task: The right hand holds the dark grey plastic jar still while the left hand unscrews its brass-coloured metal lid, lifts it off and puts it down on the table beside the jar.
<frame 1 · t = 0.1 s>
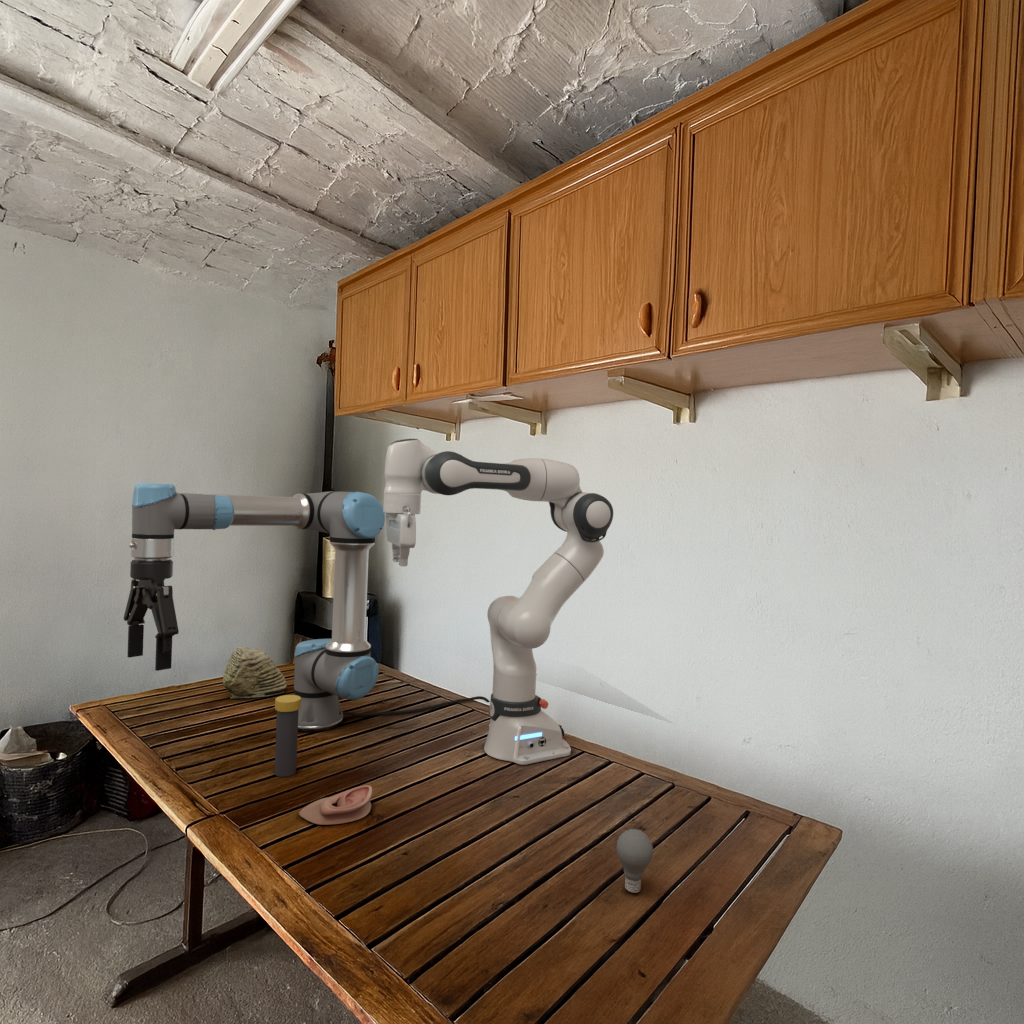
left hand: (148, 662, 129), 28 cm above the table, tool pointing down, fingers open, 13 cm apart
right hand: (399, 563, 152), 48 cm above the table, tool pointing down, fingers open, 8 cm apart
jar: (285, 772, 145), on the table
lid: (288, 700, 144), point 17 cm above the table, screwed on, not yet turned
fossil: (254, 694, 198), on the table
light bulb: (632, 891, 106), on the table
anatomical model: (335, 812, 127), on the table
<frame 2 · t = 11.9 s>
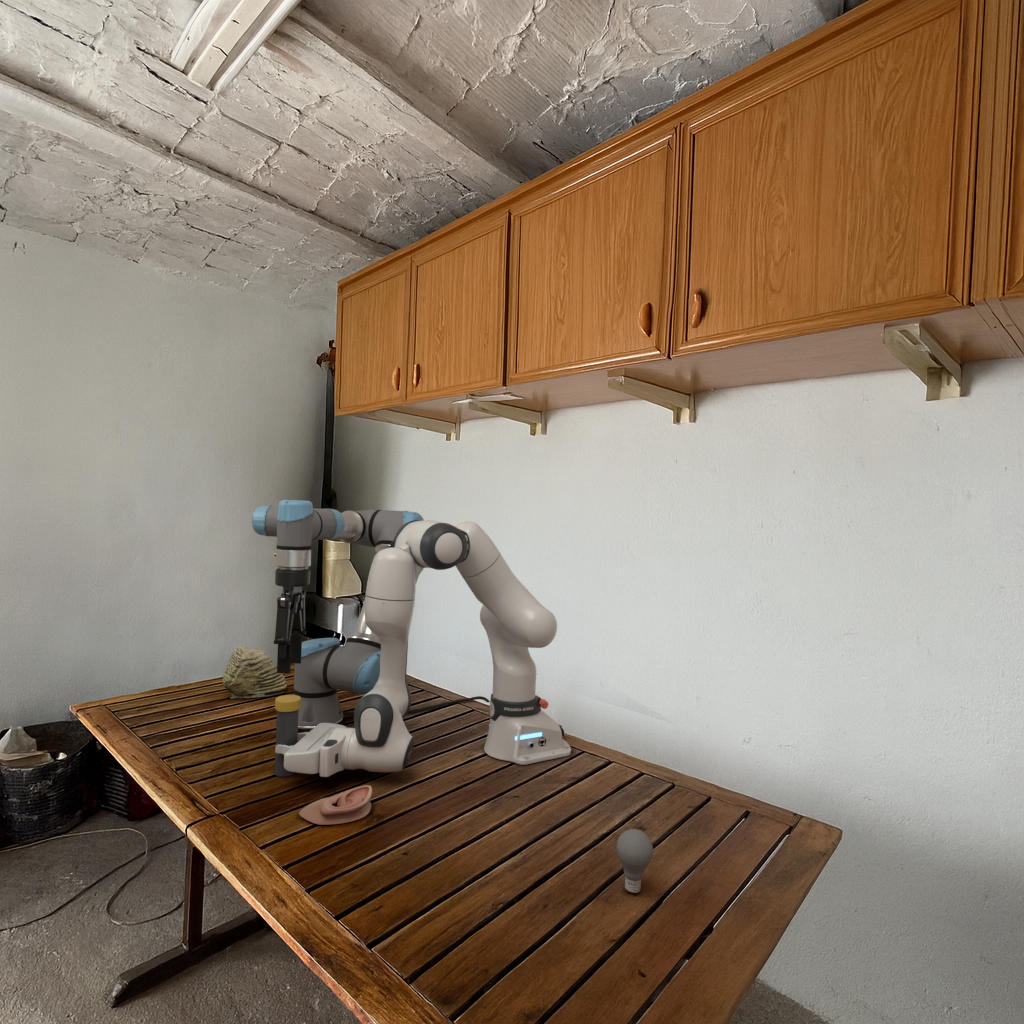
left hand: (289, 667, 144), 24 cm above the table, tool pointing down, fingers open, 8 cm apart
right hand: (282, 742, 145), 7 cm above the table, tool horizontal, fingers closed on jar, 5 cm apart
jar: (285, 772, 145), on the table, touching right hand
everything else where it was.
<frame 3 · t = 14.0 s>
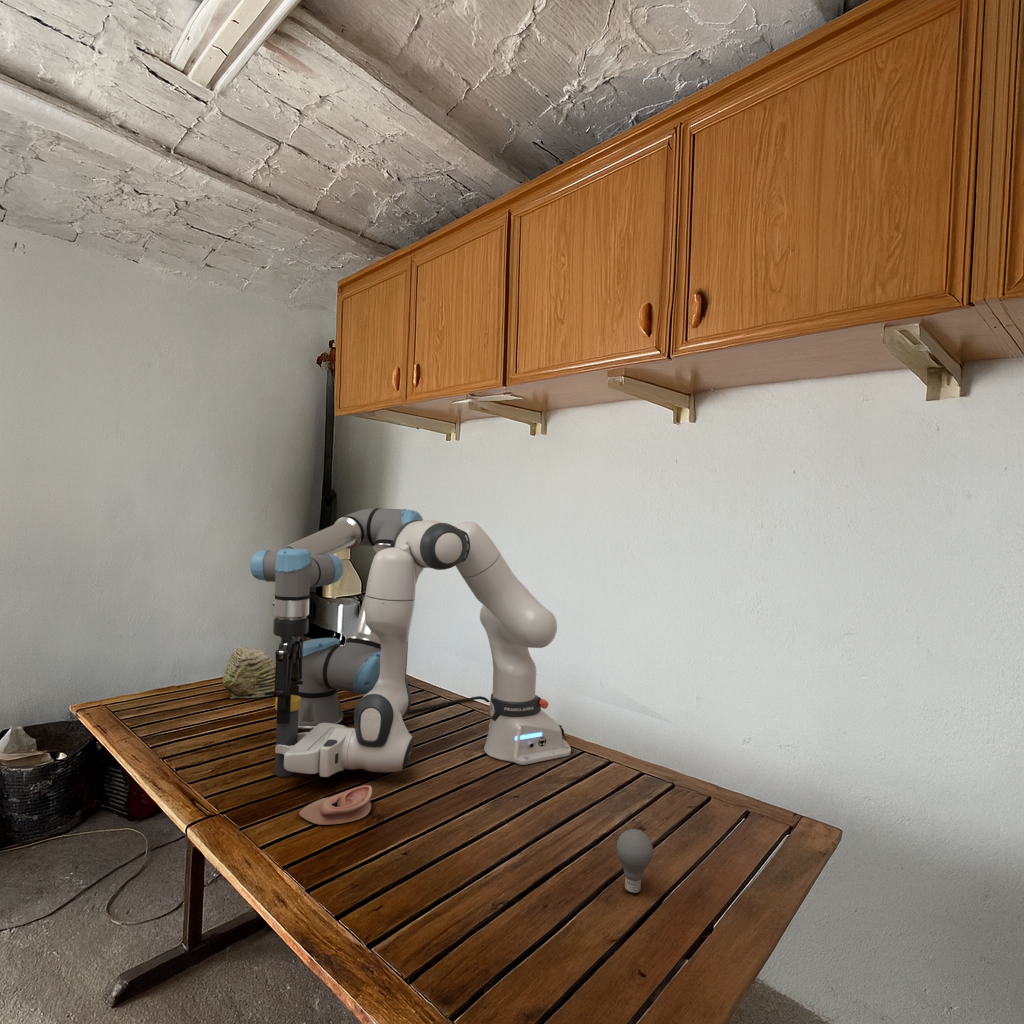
left hand: (287, 718, 144), 12 cm above the table, tool pointing down, fingers closed on lid, 5 cm apart
right hand: (282, 742, 145), 7 cm above the table, tool horizontal, fingers closed on jar, 5 cm apart
jar: (285, 772, 145), on the table, touching right hand
lid: (288, 700, 144), point 17 cm above the table, screwed on, not yet turned, touching left hand
everything else where it was.
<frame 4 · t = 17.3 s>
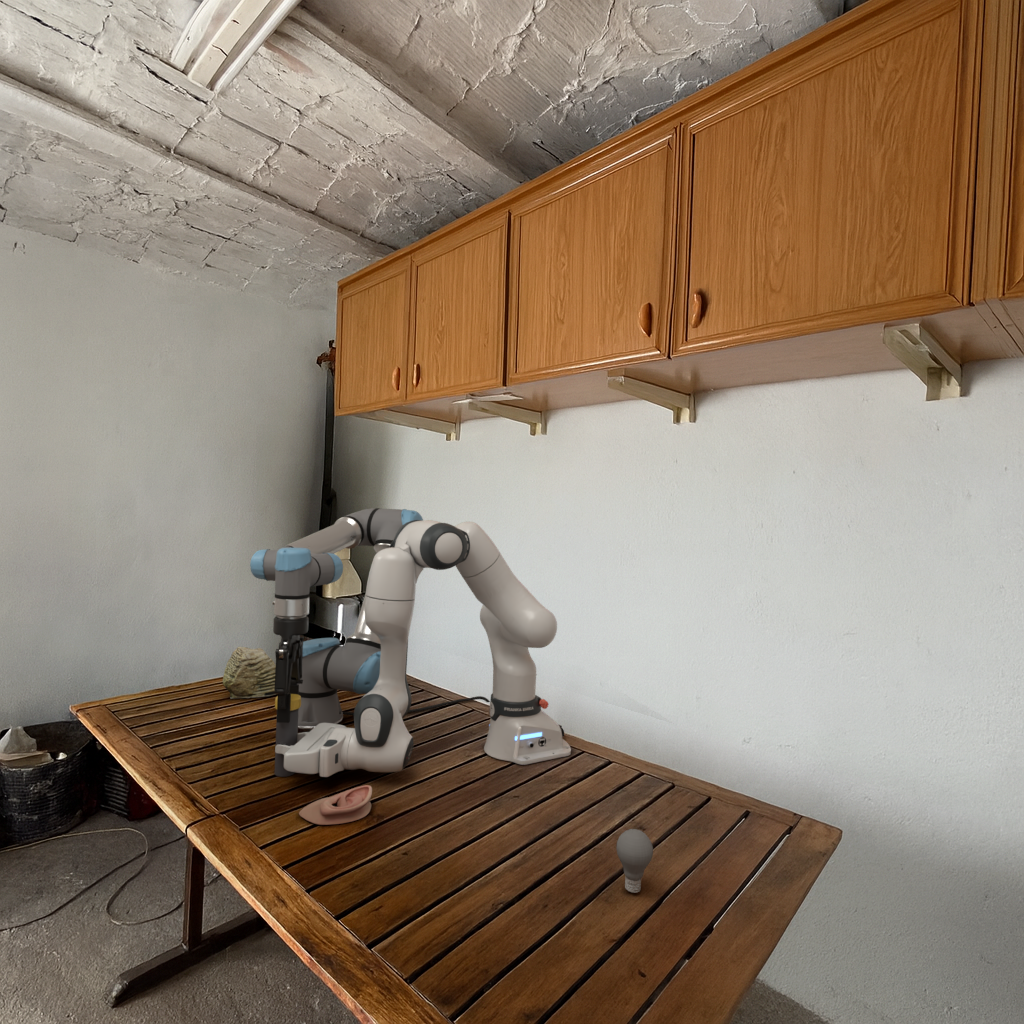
left hand: (287, 717, 144), 13 cm above the table, tool pointing down, fingers closed on lid, 5 cm apart
right hand: (282, 742, 145), 7 cm above the table, tool horizontal, fingers closed on jar, 5 cm apart
jar: (285, 772, 145), on the table, touching right hand
lid: (288, 698, 144), point 17 cm above the table, turned 88° so far, risen 0.2 cm, still on its thread, touching left hand
everything else where it was.
when the left hand's fingers open (0 cm above the table, at t = 24.5 s): lid drops 2 cm, point 2 cm above the table.
when the right hand's fingers open (7 cm above the table, at t = 25.1 s): jar stays where it is, on the table.
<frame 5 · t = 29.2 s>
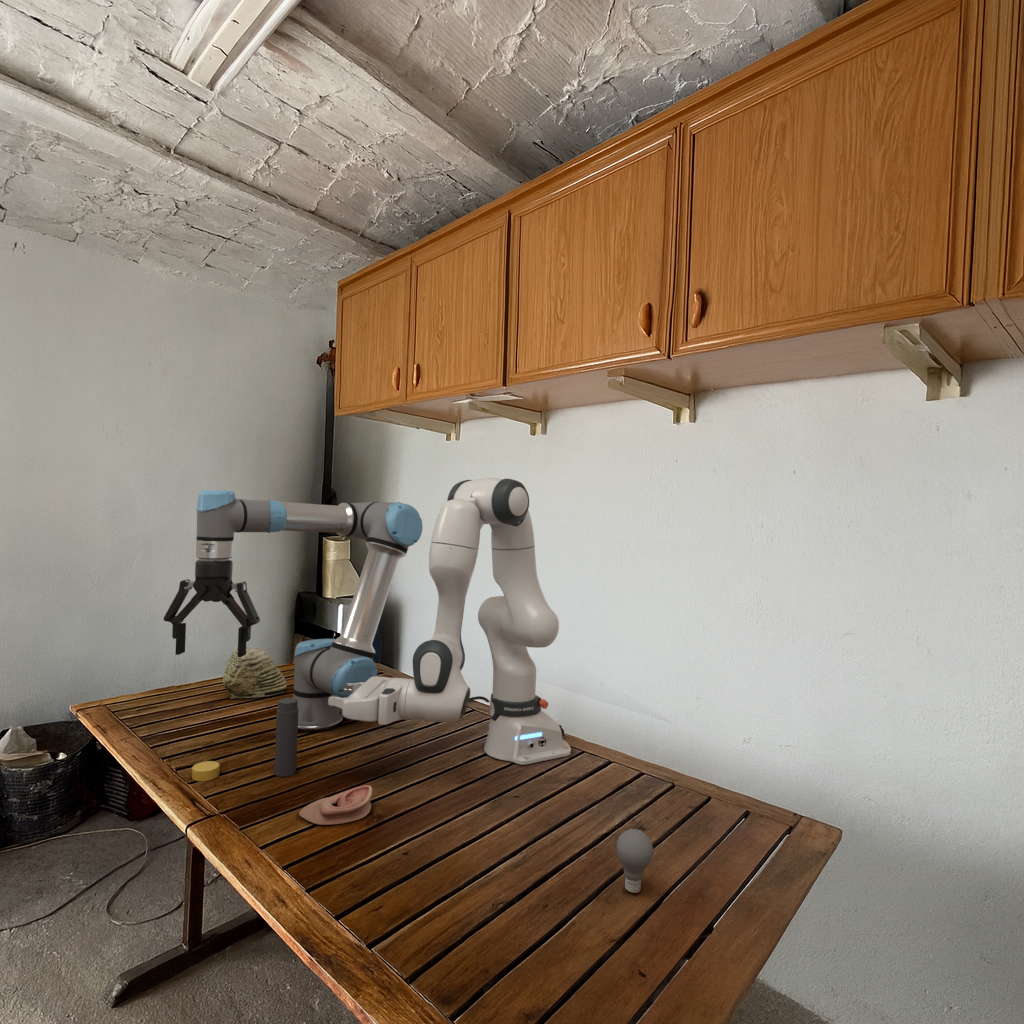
left hand: (211, 654, 141), 27 cm above the table, tool pointing down, fingers open, 13 cm apart
right hand: (337, 693, 143), 19 cm above the table, tool horizontal, fingers open, 8 cm apart
jar: (285, 772, 145), on the table
lid: (205, 767, 141), point 2 cm above the table, off its thread
everything else where it was.
at the end: lid came off its thread; lid point 1.8 cm above the table; the left hand is holding nothing; the right hand is holding nothing; jar tilted 0°; jar moved 0.0 cm from its start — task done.
